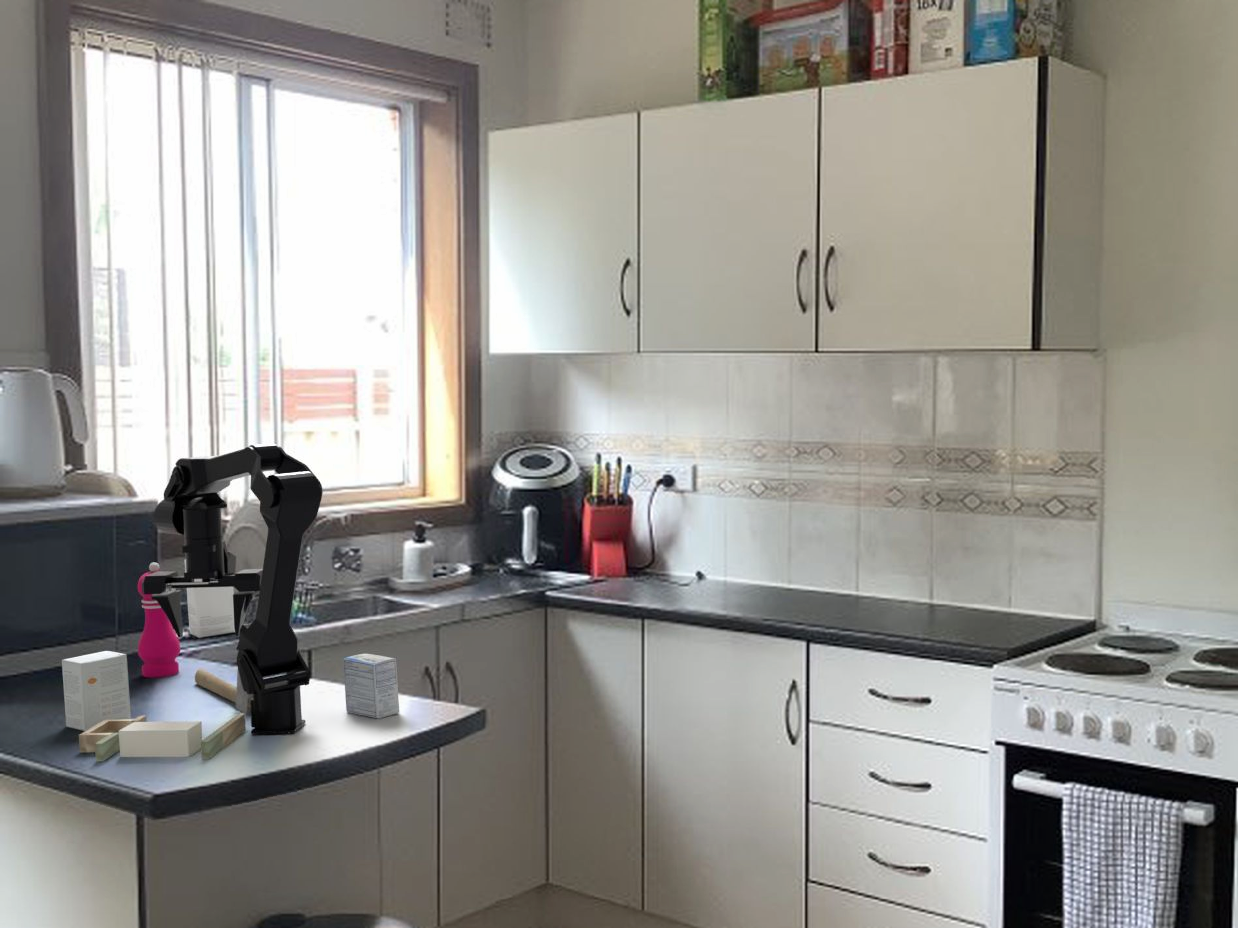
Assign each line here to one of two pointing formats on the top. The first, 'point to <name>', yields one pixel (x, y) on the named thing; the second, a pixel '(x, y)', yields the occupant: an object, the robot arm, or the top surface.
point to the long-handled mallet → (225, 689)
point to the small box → (95, 689)
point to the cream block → (160, 739)
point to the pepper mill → (157, 637)
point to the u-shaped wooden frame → (107, 732)
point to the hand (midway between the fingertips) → (209, 636)
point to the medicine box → (371, 685)
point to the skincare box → (210, 610)
